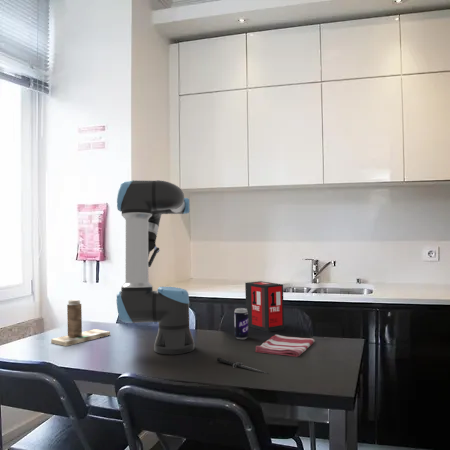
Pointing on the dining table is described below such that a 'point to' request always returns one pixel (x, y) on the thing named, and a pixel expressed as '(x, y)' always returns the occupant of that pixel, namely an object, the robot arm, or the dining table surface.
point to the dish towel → (285, 345)
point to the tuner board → (86, 337)
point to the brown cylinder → (74, 318)
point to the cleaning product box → (265, 305)
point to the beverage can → (241, 323)
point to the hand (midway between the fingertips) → (139, 279)
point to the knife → (239, 365)
